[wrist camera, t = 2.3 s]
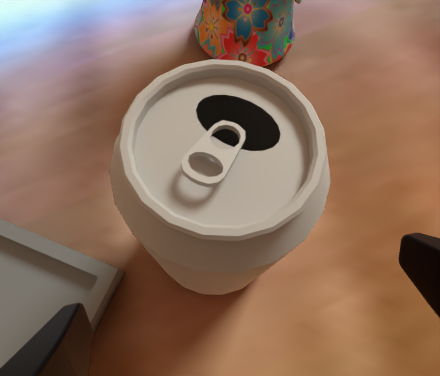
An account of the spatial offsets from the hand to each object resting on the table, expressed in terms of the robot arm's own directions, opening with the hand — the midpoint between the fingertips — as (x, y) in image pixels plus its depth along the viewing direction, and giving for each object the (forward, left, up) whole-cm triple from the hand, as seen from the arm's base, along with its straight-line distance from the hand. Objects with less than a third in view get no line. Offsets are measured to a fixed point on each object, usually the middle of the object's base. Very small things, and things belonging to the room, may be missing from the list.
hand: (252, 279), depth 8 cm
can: (+3, +2, -11) cm, 12 cm away
